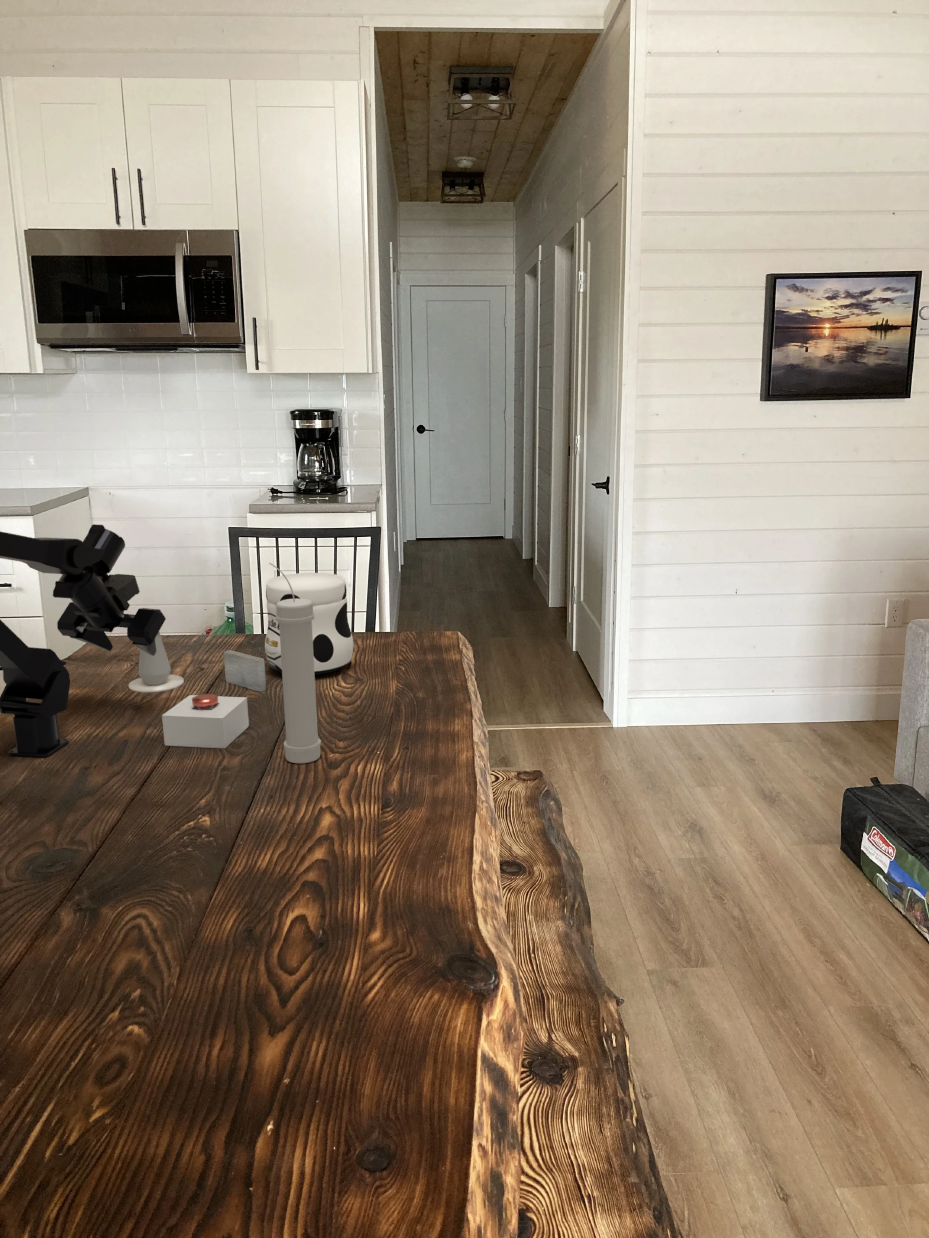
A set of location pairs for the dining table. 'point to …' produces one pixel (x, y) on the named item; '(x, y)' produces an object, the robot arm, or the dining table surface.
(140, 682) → the coaster
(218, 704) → the button block
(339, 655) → the milk container
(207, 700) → the plunger
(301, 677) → the grey cylinder
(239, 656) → the flat rectangular plate
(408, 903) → the dining table surface
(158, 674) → the salt shaker
